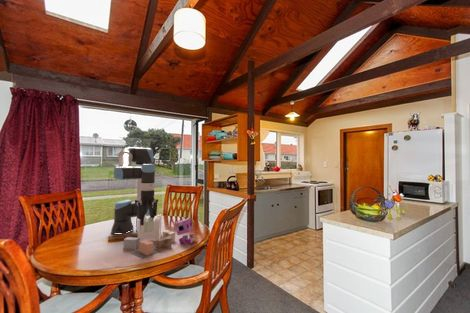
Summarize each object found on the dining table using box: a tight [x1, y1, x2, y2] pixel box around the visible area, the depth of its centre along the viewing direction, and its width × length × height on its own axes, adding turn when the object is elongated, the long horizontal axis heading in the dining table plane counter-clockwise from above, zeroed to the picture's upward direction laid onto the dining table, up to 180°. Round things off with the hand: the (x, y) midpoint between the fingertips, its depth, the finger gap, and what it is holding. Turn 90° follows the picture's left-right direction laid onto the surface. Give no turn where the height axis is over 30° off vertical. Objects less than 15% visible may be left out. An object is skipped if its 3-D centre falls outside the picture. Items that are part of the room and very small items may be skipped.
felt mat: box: [130, 248, 162, 260], centre depth 129 cm, size 12×12×1 cm
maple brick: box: [162, 229, 176, 243], centre depth 149 cm, size 8×4×6 cm, turn 55°
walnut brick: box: [155, 236, 172, 251], centre depth 137 cm, size 8×4×6 cm, turn 130°
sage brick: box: [140, 218, 154, 233], centre depth 129 cm, size 8×4×6 cm, turn 56°
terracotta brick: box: [138, 240, 154, 255], centre depth 129 cm, size 8×4×6 cm, turn 55°
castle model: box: [137, 213, 163, 242], centre depth 153 cm, size 14×14×15 cm
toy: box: [174, 217, 196, 245], centre depth 149 cm, size 11×8×15 cm
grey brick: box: [123, 236, 140, 250], centre depth 136 cm, size 8×4×6 cm, turn 85°
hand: (146, 229), depth 129 cm, fingers closed on sage brick, 4 cm apart
